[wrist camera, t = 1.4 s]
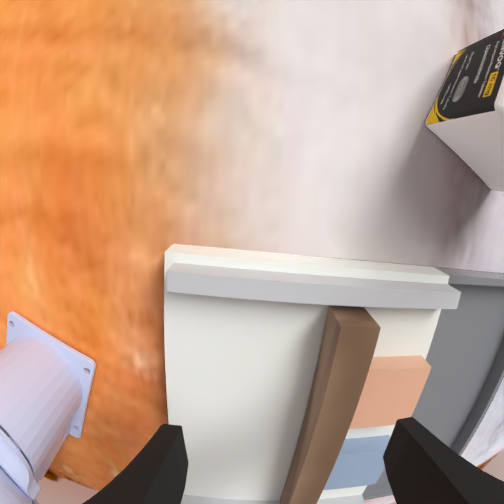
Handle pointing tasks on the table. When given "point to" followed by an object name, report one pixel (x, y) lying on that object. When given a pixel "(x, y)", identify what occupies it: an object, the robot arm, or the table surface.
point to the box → (461, 364)
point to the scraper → (331, 400)
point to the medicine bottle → (475, 109)
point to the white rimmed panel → (272, 355)
